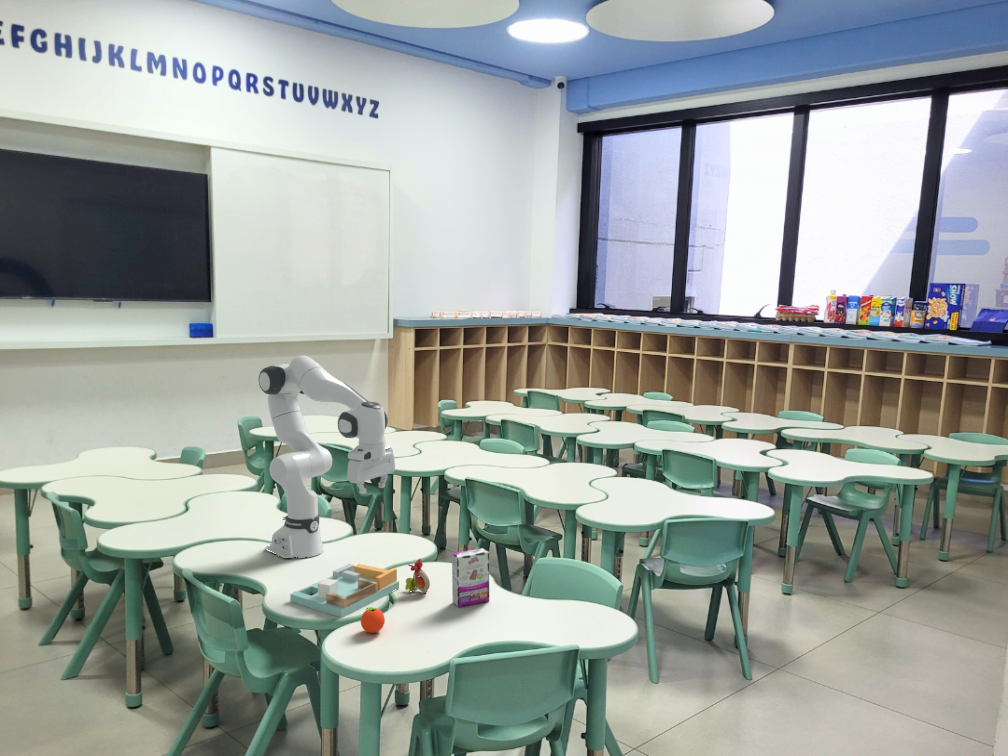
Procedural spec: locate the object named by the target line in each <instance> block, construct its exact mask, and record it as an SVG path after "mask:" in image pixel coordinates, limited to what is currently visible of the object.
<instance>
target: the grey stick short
mask: <svg viewBox="0 0 1008 756" xmlns="http://www.w3.org/2000/svg"><path fill="white" fill-rule="evenodd" d="M354 566H355V565H354V564H351V563H348V564H346V565H344V566H341V567H339V568H337V569H334V570H332V576H333V578H337V579H338V578H340V577H342V572H344V571H346V570H348V571H352V572H354Z"/></svg>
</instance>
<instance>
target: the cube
mask: <svg viewBox="0 0 1008 756" xmlns="http://www.w3.org/2000/svg"><path fill="white" fill-rule="evenodd" d="M327 578H328V577H326V578H324V579H322V580H323V581H322V580H320V581H321V582H319V581H318V582H319V583H318V597H320V598H325V599H326V593H328V592H330V593H333V594H337V595H338V580H332V579H327Z"/></svg>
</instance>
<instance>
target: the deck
mask: <svg viewBox="0 0 1008 756" xmlns="http://www.w3.org/2000/svg"><path fill="white" fill-rule="evenodd" d="M326 578H327V579H332V580H338V595H340V596H343V597H346V596H348V595H350V594H352V593H354V592H356V591H359V590H361V589H360V588H358V581H357V582H353V581H350V580H346V579H342V577H340V578H338V579H337V578H333V575H332V576H329V577H326ZM360 578H362V579H366V580H370V581H374V582H376V580H375V579H371V578H366V577H362V576H360ZM323 580H324V579H322V580H319V581H317V582H315V583H312V584H310V585H308V586H306V587H304V588H302V589H299V590H296V591H294V592H292V593H290V595H289V597H290V598H289V600H290V601H292V602H291V603H293V602H295V603H294V604H297V603H298V604H297V605H299V606H304V607H307V608H309V607H310V609H312V610H317V611H320V612H322V613H325V614H329V615H332V616H335V617H338V618H341V617H342V618H343V616H344V617H346V616H347V615H350V614H352V613H354V612H356V611H358V610H359V609H361V608H363V607H366V606H367V605H369V604H372V603H374V602H376V601H377V600H379V599H381V598H384V597H386V596H388V595H390V594H392V593H393V592H392V591H393V590H395V589H397V588H399V589H400V581H398V580H397V581H395V582H393V583H392V584H390V585H388V586H386V587H385V588H383V589H381V590H378V592H377V593H375V594H372V595H370V596H368V597H366V598H364V599H362V600H360V601H358V602H356V603H354V604H352V605H350V606H348V607H346V608H342V607H338V606H335V605H332V604H328V603H326V599H325V598H320V597H318V583H319V582H321V581H323ZM391 592H392V593H391Z"/></svg>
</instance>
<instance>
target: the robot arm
mask: <svg viewBox="0 0 1008 756" xmlns="http://www.w3.org/2000/svg"><path fill="white" fill-rule="evenodd" d="M258 385H259V388H260V389H261V391H262V392H263V393H264V394H266V395H267V404H268V411H269V415H270V418H271V422H272V425H273V429H274V431H275V432H274V433H275V435H276V439H277V440H278V441H279V442H281V443H283V444H285V445H287V446H288V447H289V448H290V449H291V451H290V452H285V453H282V454H280V455H279V456H275V457H274V458H272V460H271V461H270V463H269V474H270V477H271V478H272V480H273V481H275V482H276V483H278V484H279V485H280V487H282V489H283V491H284V493H285V498H286V507H287V509H286V510H287V511H286V512H287V515H286V516H283V517H282V521H284V524H283V525H282V526H281V527H280V528H279V529H277V530H276V531H275V532H274V533H272V536H271V543H270V544H269V545H270V546H268V545H267V546H265V548H266V549H268V550H270V551H272V552H274V553H276V554H277V555H279V556H281V557H283V558H292V559H294V558H293V557H296V558H295V559H305V557H307V558H311V557H316V556H318V555H320V554H322V553H323V552H324V548H323V546H324V542H322V536H321V529H320V514H319V503H318V501H319V500H318V499H319V498H318V495H317V493H316V491H314V490H313V489H311V488H309V487H308V484H307V480H308V479H312V478H315V477H318V476H319V477H320V476H321V475H323V474H326V473H327V472H329V471H330V470H331V469H332V465H333V457H332V454H331V452H330V451H329V449H327V448H325V447H324V446H322V445H321V444H319V443H318V442H317V441H316V440H315V439H314V438H313V436H312V435H311V434H310V432H309V430H308V427H307V425H306V422H305V420H304V416H303V414H302V410H301V407H300V405H299V402H298V396H299V394H301V395H305V396H306V397H308V398H309V399H310V400H313V401H315V402H321V403H324V402H326V403H337V404H340V405H345V406H347V408H348V410H346V411H343V412H341V414H340V415H339V416H338V419H337V429H338V431H339V433H340V434H341V436H342V437H344V438H346V439H356V438H358V444H357V445H356V446H355V447H354V448H353V449H351V450H350V451H349V452H348V453H347V458H348V459H349V460H348V463H347V480H348V481H349V482H350V483H351V484H356V485H357V487H358V489H359V494H360V495H365V494H367V488H366V487H365V486H364V485H365V482H366V481H369V480H373V479H376V478H379V477H380V480H379V482H378V488H379V489H383V488H385V487H386V482H387V479H388V475H389V474H393V473H395V470H396V462H395V461H396V460H395V456H394V450H393V448H392V447H391V446H386V438H385V430H386V429H387V426H388V423H389V419H388V415H387V412H386V411H385V410H384V408H383V405H382V404H380V403H379V402H376V401H369V400H368V399H367V398H365V397H364V396H363V395H362V394H360V393H359V392H358V391H356V390H355V389H354V388H353V387H351V386H350V385H348V384H347V383H345V382H344V381H341V380H339V379H338V378H336V377H334V376H333V375H332V374H331V373H329V372H328V371H327V370H326V369H325V368H324V367H323V366H322V365H320V363H318V362H317V361H316V360H314V359H313V358H311V357H309V356H308V355H302V354H301V355H297V356H295V357H294V358H293V359H292V360H291V361H290V362H286V363H280V364H276V365H269V366H267V367H264V368H263V369H261V371H260V372H259V375H258ZM277 555H276V556H277ZM279 556H278V557H279ZM281 557H280V558H281ZM297 557H298V558H297ZM283 558H282V559H283Z"/></svg>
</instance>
